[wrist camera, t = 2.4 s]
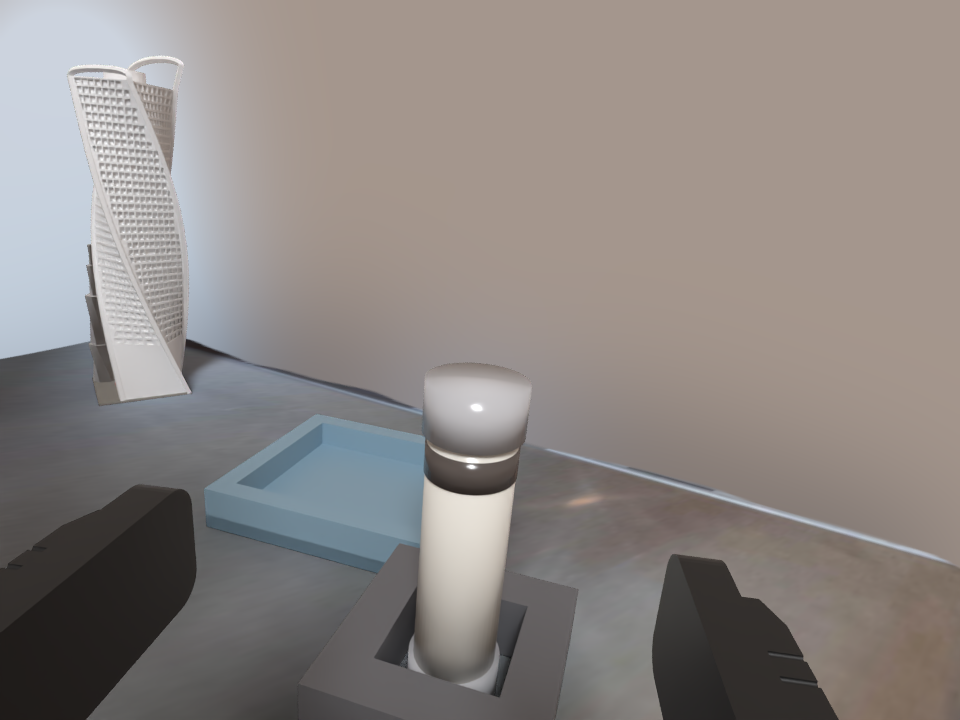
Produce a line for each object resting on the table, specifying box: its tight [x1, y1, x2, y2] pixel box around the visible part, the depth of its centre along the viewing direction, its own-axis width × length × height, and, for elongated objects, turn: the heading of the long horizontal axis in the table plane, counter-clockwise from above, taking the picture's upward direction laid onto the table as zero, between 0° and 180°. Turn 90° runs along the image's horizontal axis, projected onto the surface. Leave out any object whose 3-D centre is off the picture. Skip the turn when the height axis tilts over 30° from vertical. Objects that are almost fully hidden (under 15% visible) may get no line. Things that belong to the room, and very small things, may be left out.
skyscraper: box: [67, 56, 191, 406], centre depth 49 cm, size 8×8×28 cm
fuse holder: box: [298, 543, 578, 720], centre depth 24 cm, size 9×9×3 cm
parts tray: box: [204, 414, 425, 573], centre depth 38 cm, size 14×12×2 cm
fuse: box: [407, 363, 532, 696], centre depth 23 cm, size 4×4×14 cm
